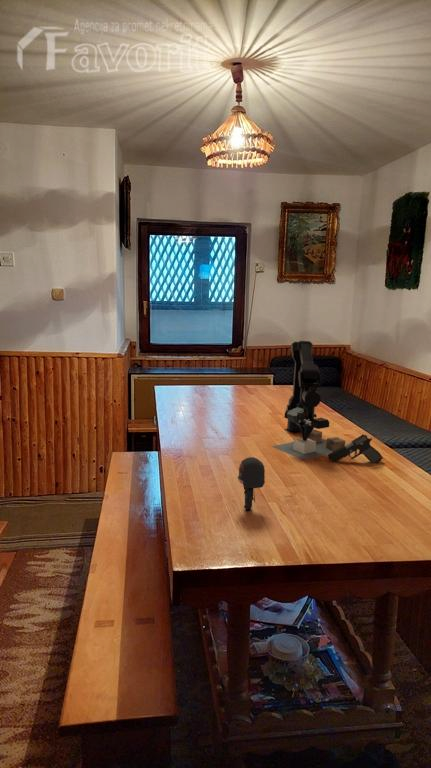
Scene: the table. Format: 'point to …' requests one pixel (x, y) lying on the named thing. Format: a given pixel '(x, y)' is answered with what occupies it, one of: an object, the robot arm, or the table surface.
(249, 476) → the toy
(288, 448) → the mat
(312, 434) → the pip block one
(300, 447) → the plain block
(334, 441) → the pip block two
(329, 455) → the handgun
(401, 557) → the table surface
